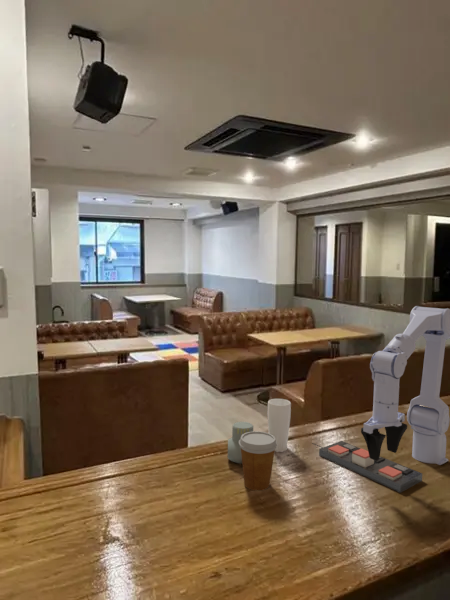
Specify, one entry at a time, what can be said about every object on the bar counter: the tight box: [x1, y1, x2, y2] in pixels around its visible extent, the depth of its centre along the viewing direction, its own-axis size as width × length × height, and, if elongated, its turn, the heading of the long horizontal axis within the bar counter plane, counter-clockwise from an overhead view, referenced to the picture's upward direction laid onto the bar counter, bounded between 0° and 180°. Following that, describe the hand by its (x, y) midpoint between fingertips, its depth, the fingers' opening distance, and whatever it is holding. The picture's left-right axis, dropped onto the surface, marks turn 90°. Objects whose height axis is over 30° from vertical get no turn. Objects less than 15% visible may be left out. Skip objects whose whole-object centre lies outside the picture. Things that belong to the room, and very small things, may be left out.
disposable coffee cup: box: [239, 430, 277, 491], centre depth 109 cm, size 10×10×12 cm
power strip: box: [311, 440, 423, 494], centre depth 120 cm, size 10×32×4 cm, turn 37°
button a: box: [328, 445, 349, 457], centre depth 122 cm, size 4×4×3 cm
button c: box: [378, 466, 402, 481], centre depth 109 cm, size 4×4×3 cm
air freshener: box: [227, 421, 254, 465], centre depth 123 cm, size 11×8×10 cm
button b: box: [352, 447, 374, 468], centre depth 116 cm, size 4×4×3 cm
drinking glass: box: [267, 398, 292, 453], centre depth 128 cm, size 7×7×15 cm
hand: (383, 455), depth 107 cm, fingers open, 7 cm apart
